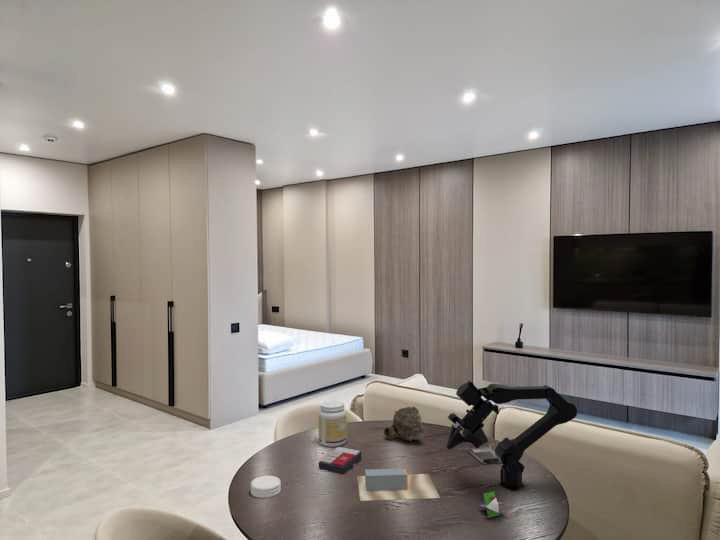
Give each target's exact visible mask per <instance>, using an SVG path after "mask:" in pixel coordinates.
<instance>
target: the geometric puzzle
mask: <svg viewBox="0 0 720 540" xmlns="http://www.w3.org/2000/svg"><path fill="white" fill-rule="evenodd" d="M496 495H497V494H496V491H495V490H493V491H489V492H483V493H482V497H481V498H480V499H481V500H484V504H478V505H477V506H478V507H480V510H481V509H482V508H483V507H484V508H485V510H486V516H487V518H492V517H496V516H500V506H499V504H501V505H502V504H503V505H502V506H504V505H505V503H504V501H498V500H499V498H497V497H496Z"/></svg>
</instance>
